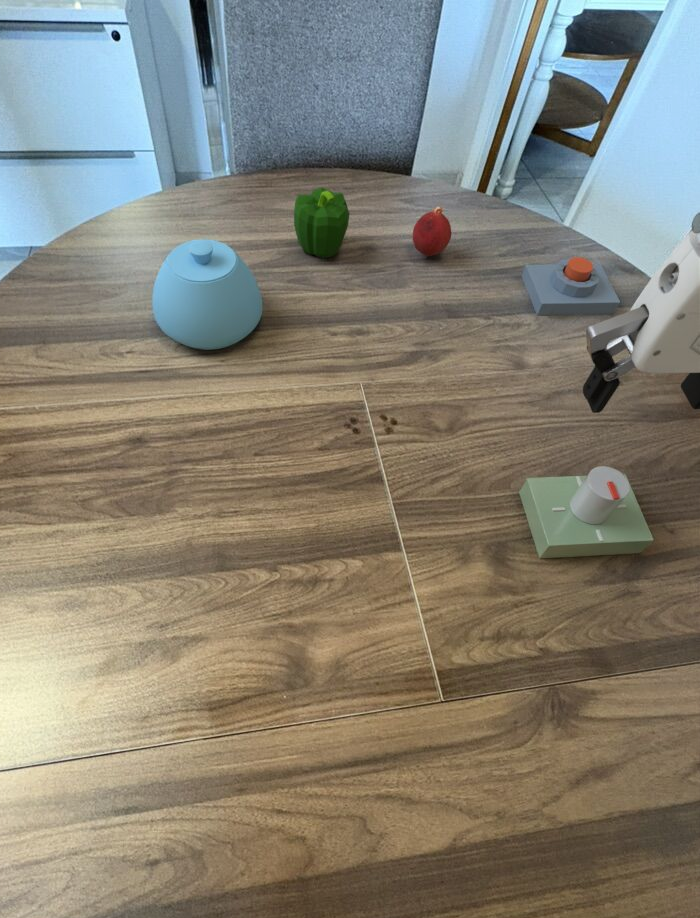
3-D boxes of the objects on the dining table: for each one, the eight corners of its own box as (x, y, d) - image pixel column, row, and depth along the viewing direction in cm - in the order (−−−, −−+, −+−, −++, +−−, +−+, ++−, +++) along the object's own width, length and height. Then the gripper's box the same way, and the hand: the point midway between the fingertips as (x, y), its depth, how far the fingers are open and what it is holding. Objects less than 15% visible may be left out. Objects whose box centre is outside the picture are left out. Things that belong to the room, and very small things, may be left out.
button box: (594, 275, 97) (605, 253, 93) (613, 314, 92) (626, 292, 89) (521, 276, 96) (529, 254, 92) (536, 315, 91) (546, 293, 88)
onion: (427, 271, 95) (438, 224, 88) (401, 253, 97) (410, 205, 91) (452, 257, 97) (465, 210, 91) (426, 239, 100) (436, 192, 93)
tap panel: (614, 488, 75) (626, 472, 72) (640, 553, 70) (654, 539, 67) (518, 492, 74) (527, 476, 71) (539, 558, 69) (549, 545, 66)
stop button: (584, 267, 92) (588, 256, 90) (591, 282, 90) (596, 272, 88) (560, 267, 92) (565, 257, 90) (568, 282, 90) (572, 272, 88)
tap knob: (564, 492, 70) (583, 465, 66) (601, 491, 70) (622, 463, 66) (576, 525, 68) (597, 499, 63) (614, 523, 68) (637, 497, 64)
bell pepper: (291, 233, 99) (292, 171, 90) (341, 232, 100) (347, 170, 91) (295, 266, 94) (297, 204, 86) (348, 264, 95) (355, 203, 87)
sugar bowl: (282, 331, 86) (282, 259, 77) (187, 372, 81) (174, 300, 72) (229, 273, 93) (223, 199, 83) (137, 307, 88) (119, 233, 78)
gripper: (668, 264, 39) (563, 434, 54) (909, 261, 41) (746, 427, 56) (626, 198, 43) (539, 373, 58) (848, 197, 45) (710, 367, 60)
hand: (640, 399), depth 57 cm, fingers open, 9 cm apart
